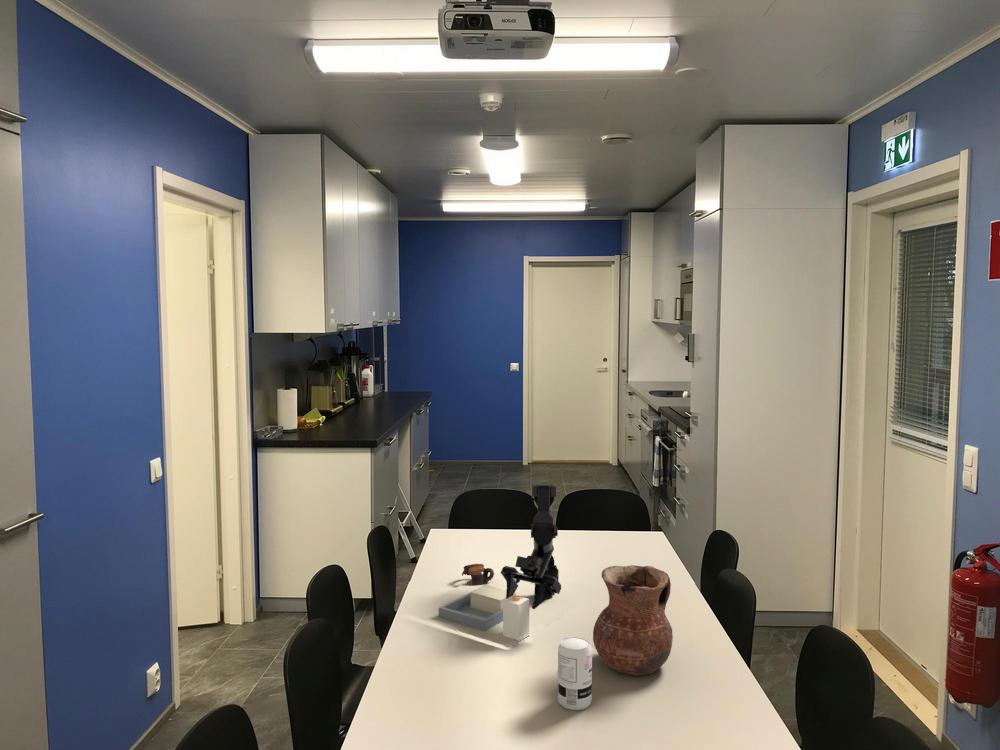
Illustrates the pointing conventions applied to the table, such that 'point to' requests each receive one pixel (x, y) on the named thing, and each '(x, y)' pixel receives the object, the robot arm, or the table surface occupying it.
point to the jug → (634, 620)
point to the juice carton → (516, 617)
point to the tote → (469, 614)
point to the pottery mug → (478, 574)
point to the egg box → (488, 598)
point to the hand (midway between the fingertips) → (519, 605)
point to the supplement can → (574, 673)
